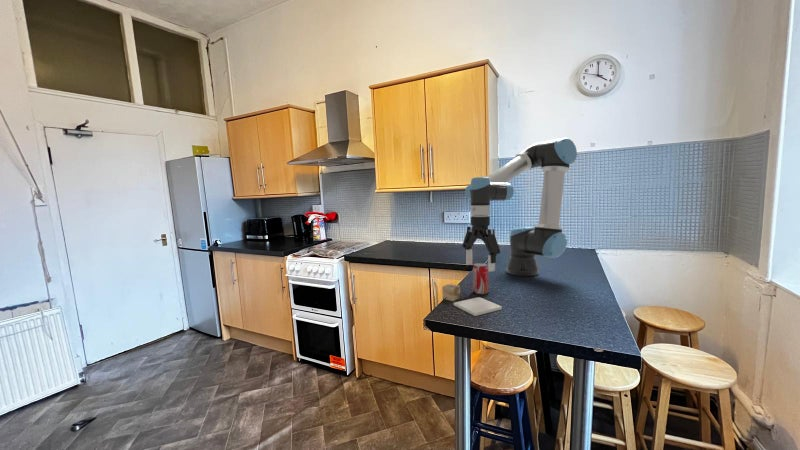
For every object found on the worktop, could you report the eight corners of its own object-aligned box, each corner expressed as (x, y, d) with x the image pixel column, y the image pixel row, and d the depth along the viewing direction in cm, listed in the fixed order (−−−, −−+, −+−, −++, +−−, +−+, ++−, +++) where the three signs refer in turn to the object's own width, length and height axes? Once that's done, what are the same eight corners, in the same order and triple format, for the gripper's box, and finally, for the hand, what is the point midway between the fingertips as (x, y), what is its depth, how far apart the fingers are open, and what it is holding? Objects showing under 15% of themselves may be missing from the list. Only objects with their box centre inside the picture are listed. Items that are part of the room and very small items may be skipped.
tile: (479, 299, 122) (479, 297, 122) (501, 309, 112) (501, 306, 111) (453, 305, 117) (453, 302, 117) (474, 316, 106) (474, 313, 106)
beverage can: (470, 291, 132) (469, 263, 131) (482, 289, 134) (482, 262, 133) (478, 296, 126) (478, 266, 125) (491, 294, 128) (491, 265, 127)
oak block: (449, 295, 129) (449, 283, 128) (460, 298, 125) (460, 285, 125) (442, 298, 125) (442, 286, 124) (453, 301, 122) (453, 288, 121)
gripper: (454, 214, 137) (454, 263, 139) (495, 218, 114) (494, 275, 116) (467, 214, 140) (467, 261, 142) (510, 217, 118) (509, 272, 120)
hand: (479, 267), depth 129 cm, fingers open, 13 cm apart
